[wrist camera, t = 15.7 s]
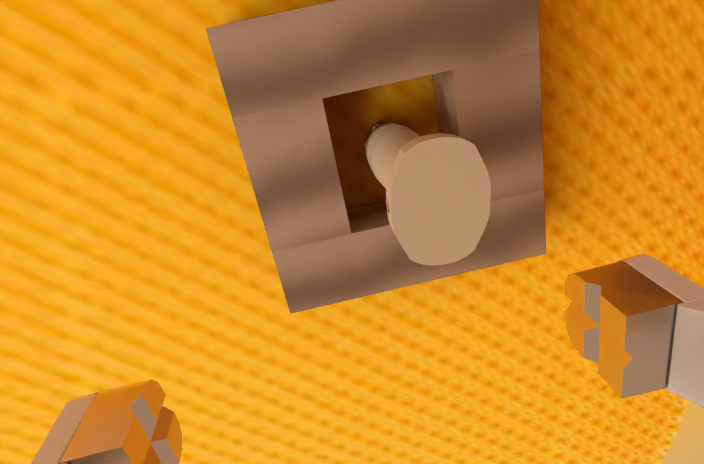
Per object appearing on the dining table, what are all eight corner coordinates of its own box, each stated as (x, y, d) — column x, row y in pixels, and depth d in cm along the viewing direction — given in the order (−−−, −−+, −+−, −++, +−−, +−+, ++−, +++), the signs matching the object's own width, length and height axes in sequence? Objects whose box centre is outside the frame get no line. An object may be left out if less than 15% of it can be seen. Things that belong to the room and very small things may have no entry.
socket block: (218, 30, 32) (205, 28, 27) (501, -31, 32) (536, -43, 28) (290, 281, 39) (290, 313, 35) (517, 229, 40) (546, 253, 35)
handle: (412, 95, 35) (491, 131, 21) (416, 178, 37) (488, 258, 23) (349, 102, 34) (386, 143, 21) (356, 185, 37) (395, 271, 23)
